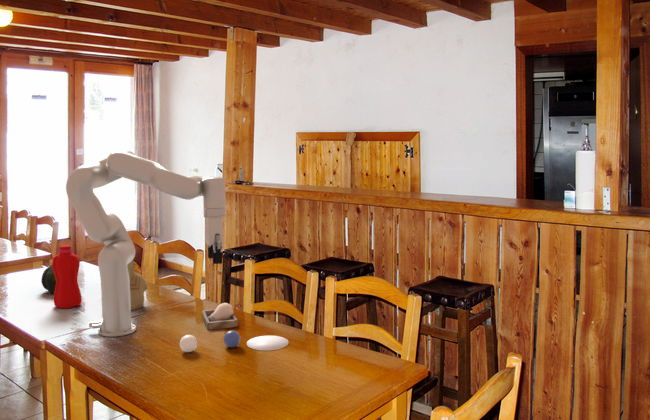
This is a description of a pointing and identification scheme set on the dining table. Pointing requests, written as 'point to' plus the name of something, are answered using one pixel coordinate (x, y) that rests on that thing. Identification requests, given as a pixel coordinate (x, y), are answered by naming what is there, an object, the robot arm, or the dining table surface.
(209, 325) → the brown wooden tray
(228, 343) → the object ball
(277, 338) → the white round disc
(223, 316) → the light bulb
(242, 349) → the dining table surface
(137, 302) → the ceramic vessel
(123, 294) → the robot arm
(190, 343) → the cue ball
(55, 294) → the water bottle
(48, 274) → the squash
